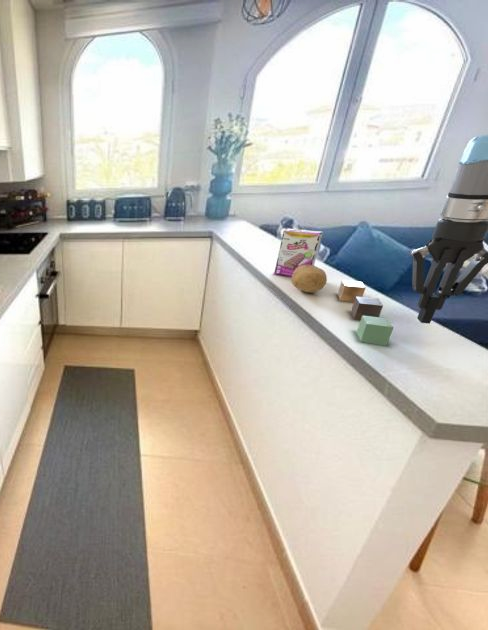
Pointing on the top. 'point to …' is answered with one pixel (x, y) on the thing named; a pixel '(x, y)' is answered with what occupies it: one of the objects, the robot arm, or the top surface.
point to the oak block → (350, 290)
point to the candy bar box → (297, 250)
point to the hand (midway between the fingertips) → (423, 320)
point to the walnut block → (366, 307)
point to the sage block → (374, 330)
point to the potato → (309, 278)
